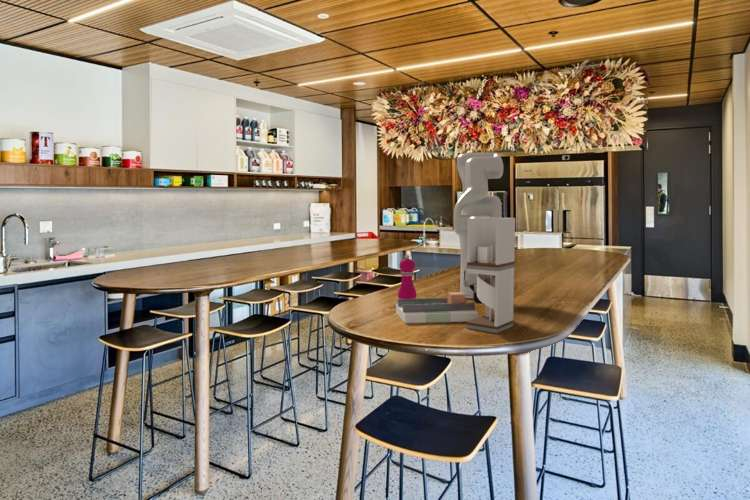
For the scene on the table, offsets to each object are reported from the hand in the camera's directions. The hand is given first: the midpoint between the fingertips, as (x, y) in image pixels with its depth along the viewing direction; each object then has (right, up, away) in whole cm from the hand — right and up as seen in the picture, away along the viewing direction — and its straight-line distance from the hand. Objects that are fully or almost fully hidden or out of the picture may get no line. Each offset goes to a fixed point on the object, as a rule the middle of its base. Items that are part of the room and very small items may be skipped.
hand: (478, 302), depth 188 cm
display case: (0, -6, -18) cm, 19 cm away
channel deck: (-15, -5, -1) cm, 16 cm away
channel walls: (-15, -2, -2) cm, 16 cm away
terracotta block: (-8, -2, -1) cm, 8 cm away
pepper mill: (-24, -3, +16) cm, 29 cm away
